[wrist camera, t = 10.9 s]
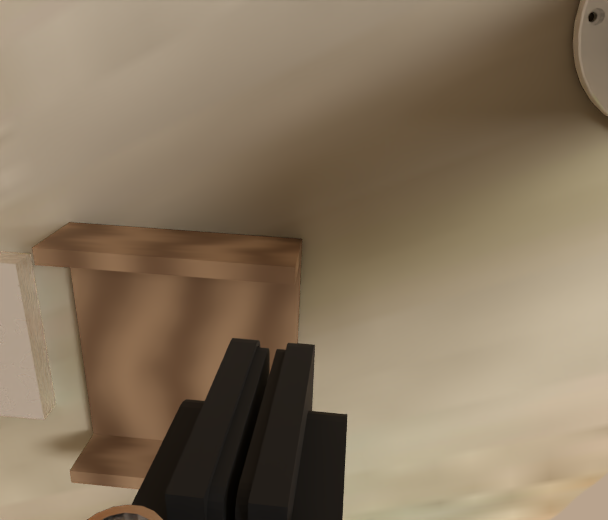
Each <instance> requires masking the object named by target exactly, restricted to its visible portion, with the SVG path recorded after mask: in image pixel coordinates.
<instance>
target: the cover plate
mask: <svg viewBox="0 0 608 520" xmlns="http://www.w3.org/2000/svg"><path fill="white" fill-rule="evenodd" d="M55 405H56V399H55V393H54V388H53V382H52V376H51V370H50V364H49V358H48V352H47V347H46V341H45V335H44V329H43V323H42V317H41V311H40V306H39V300H38V294H37V288H36V282H35V276H34V270H33V265H32V259H31V253H18V252H5V251H0V416H10V417H20V418H31V419H42V420H44V419H45V418H46V417H47V416H48V414H49V413H50V412H51V411H52V409H53V408H54V407H55Z"/></svg>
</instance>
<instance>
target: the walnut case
mask: <svg viewBox="0 0 608 520" xmlns="http://www.w3.org/2000/svg"><path fill="white" fill-rule="evenodd" d="M32 251H33V257H34V263H35V265H43V266H56V267H69V268H70V270H71V277H72V284H73V291H74V299H75V306H76V313H77V320H78V327H79V334H80V341H81V348H82V355H83V362H84V369H85V376H86V384H87V391H88V398H89V405H90V412H91V419H92V426H93V433H94V434H93V435H92V437H91V439H90V440H89V442H88V443H87V445H86V446H85V448H84V449H83V451H82V453H81V454H80V456H79V457H78V459H77V460H76V462H75V463H74V465H73V467H72V468H71V470H70V475H71V481H72V482H73V483H83V484H93V485H102V486H112V487H122V488H132V489H140V487H141V485H142V483H143V481H144V478H145V476H146V474H147V472H148V470H149V468H150V466H151V464H152V462H153V460H154V458H155V456H156V454H157V452H158V450H159V448H160V446H161V444H162V442H163V440H164V438H165V436H166V433H167V431H168V429H169V427H170V425H171V423H172V421H173V419H174V417H175V415H176V413H177V411H178V409H179V407H180V405H181V404H182V402H183V401H184V400H186V399H190V400H200V401H205V399H206V397H207V394H208V392H209V390H210V387H211V385H212V383H213V380H214V378H215V376H216V373H217V371H218V369H219V366H220V364H221V362H222V360H223V357H224V355H225V353H226V350H227V348H228V346H229V343H230V341H231V339H232V338H240V339H251V340H259V341H260V347H261V348H269V351H270V371H271V367H272V363H273V360H274V356H275V353H276V350H277V349H284V350H286V347H287V344H288V343H298V322H299V300H300V278H301V256H302V239H296V238H282V237H268V236H254V235H240V234H226V233H212V232H198V231H185V230H171V229H157V228H143V227H129V226H115V225H101V224H87V223H73V222H69V223H68V224H66V225H65V226H63V227H62V228H61V229H59V230H58V231H56V232H55V233H53V234H52V235H50V236H49V237H47V238H46V239H44V240H43V241H41V242H40V243H38V244H37V245H35V246H34V247H32ZM269 374H270V372H269Z"/></svg>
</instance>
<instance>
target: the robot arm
mask: <svg viewBox="0 0 608 520" xmlns="http://www.w3.org/2000/svg"><path fill="white" fill-rule="evenodd" d="M591 12H592V13H593V14H594V19H593V20H592V21H591V22H589V21H588V16H589V14H590V13H591ZM573 53H574V62H575V67H576V70H577V74H578V77H579V80H580V83H581V85H582V87H583V89H584V90H585V92H586V94H587V95H588V97H589V99H590V100H591V101H592V103H593V104H594V105H595V106H596V107H597V108H598V109H599V110H600V111H601V112H602V113H603V114H604V115H606V116H607V117H608V0H580V4H579V7H578V11H577V15H576V19H575V23H574V35H573ZM314 356H315V345H310V344H298V343H288V344H287V347H286V350H284V349H277V350H276V353H275V356H274V360H273V363H272V367H271V371H270V351H269V348H261V347H260V341H259V340H251V339H240V338H232V339H231V341H230V343H229V346H228V348H227V350H226V353H225V355H224V357H223V360H222V362H221V364H220V366H219V369H218V371H217V373H216V376H215V378H214V380H213V383H212V385H211V387H210V390H209V392H208V394H207V397H206V399H205V401H200V400H190V399H186V400H184V401H183V402H182V404H181V405H180V407H179V409H178V411H177V413H176V415H175V417H174V419H173V421H172V423H171V425H170V427H169V429H168V431H167V433H166V436H165V438H164V440H163V442H162V444H161V446H160V448H159V450H158V452H157V454H156V456H155V458H154V460H153V462H152V464H151V466H150V468H149V470H148V472H147V474H146V476H145V478H144V481H143V483H142V485H141V487H140V489H139V491H138V493H137V495H136V497H135V499H134V501H133V503H132V505H122V506H115V507H111V508H109V509H106V510H103V511H101V512H98V513H96V514H95V515H93V516H92V517H90V518H89V519H87V520H342V515H343V494H344V473H345V453H346V432H347V414H336V413H326V412H315V411H312V399H313V378H314ZM269 372H270V374H269Z"/></svg>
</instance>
